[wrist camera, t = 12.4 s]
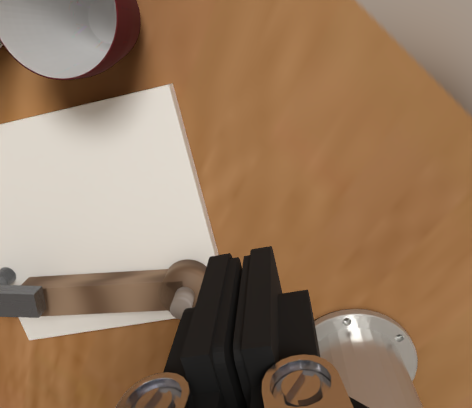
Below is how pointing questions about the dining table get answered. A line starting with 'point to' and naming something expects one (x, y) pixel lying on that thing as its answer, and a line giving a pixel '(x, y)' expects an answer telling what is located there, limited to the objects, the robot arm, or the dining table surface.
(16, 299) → the block
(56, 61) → the mug
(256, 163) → the dining table surface
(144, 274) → the walnut link
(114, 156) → the pintle board
